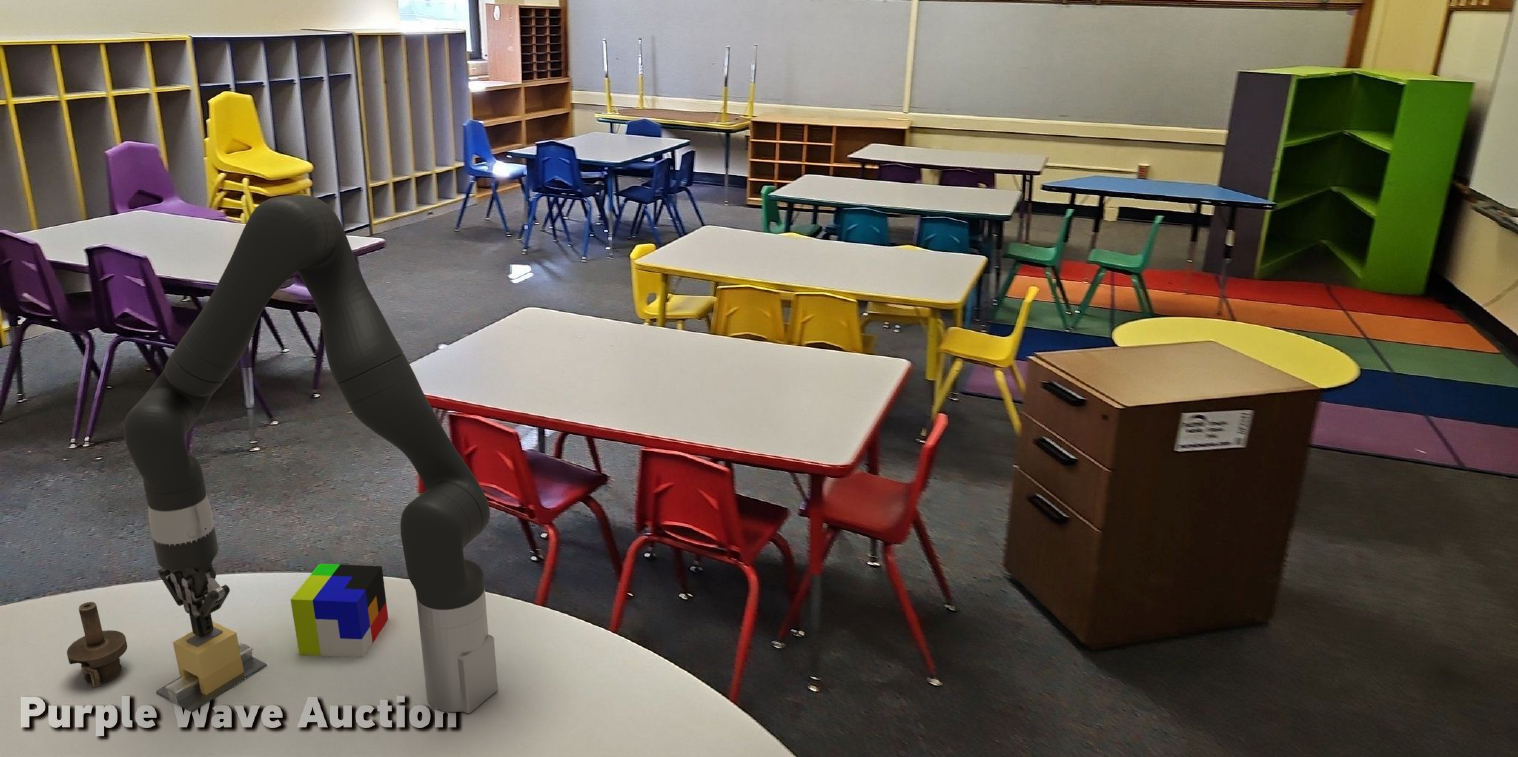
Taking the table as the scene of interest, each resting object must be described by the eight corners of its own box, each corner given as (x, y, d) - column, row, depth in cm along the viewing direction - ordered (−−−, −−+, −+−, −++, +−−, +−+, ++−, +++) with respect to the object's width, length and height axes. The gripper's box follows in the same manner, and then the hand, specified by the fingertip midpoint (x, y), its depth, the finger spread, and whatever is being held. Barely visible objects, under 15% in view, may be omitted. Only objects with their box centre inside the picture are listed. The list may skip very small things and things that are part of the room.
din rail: (266, 665, 150) (264, 653, 149) (191, 712, 140) (189, 699, 139) (231, 649, 153) (229, 637, 152) (156, 693, 143) (153, 680, 143)
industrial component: (102, 696, 142) (84, 625, 138) (60, 687, 144) (41, 616, 140) (153, 656, 151) (138, 589, 147) (114, 648, 152) (97, 581, 148)
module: (243, 672, 148) (236, 630, 145) (206, 695, 143) (197, 652, 140) (219, 660, 150) (211, 619, 147) (181, 682, 145) (172, 640, 142)
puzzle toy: (364, 657, 153) (356, 602, 149) (299, 654, 153) (290, 599, 149) (388, 619, 162) (381, 566, 158) (327, 616, 162) (319, 563, 158)
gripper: (239, 529, 138) (257, 634, 144) (178, 504, 143) (198, 606, 150) (187, 553, 132) (209, 662, 138) (126, 526, 137) (149, 632, 144)
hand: (203, 633), depth 144 cm, fingers closed
